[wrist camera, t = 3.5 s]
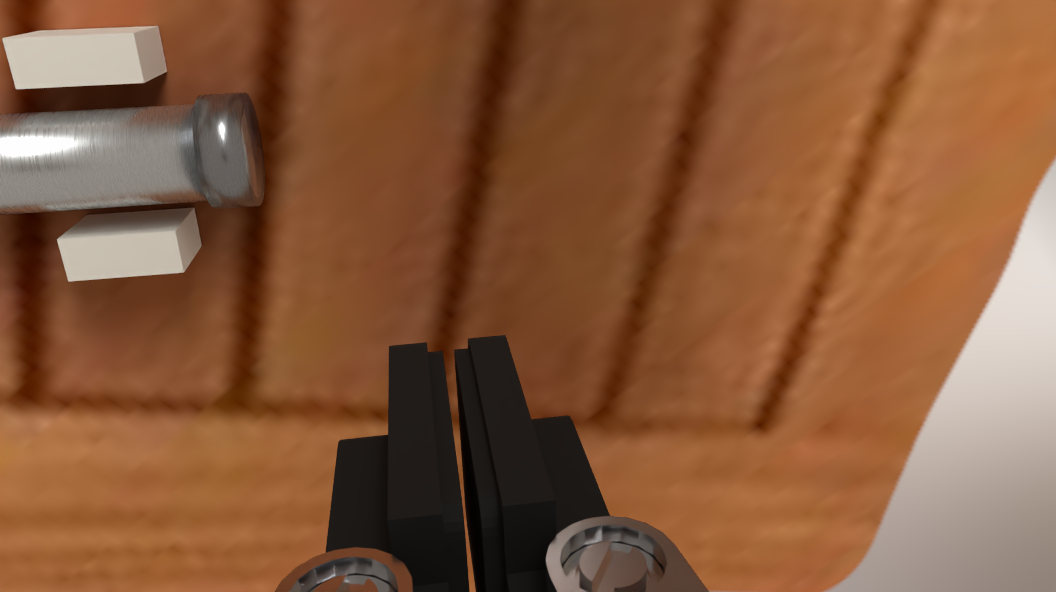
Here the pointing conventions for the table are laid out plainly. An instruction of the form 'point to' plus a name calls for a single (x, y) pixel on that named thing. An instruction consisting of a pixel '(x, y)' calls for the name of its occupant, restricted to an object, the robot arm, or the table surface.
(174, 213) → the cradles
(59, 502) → the table surface
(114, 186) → the slip tube
